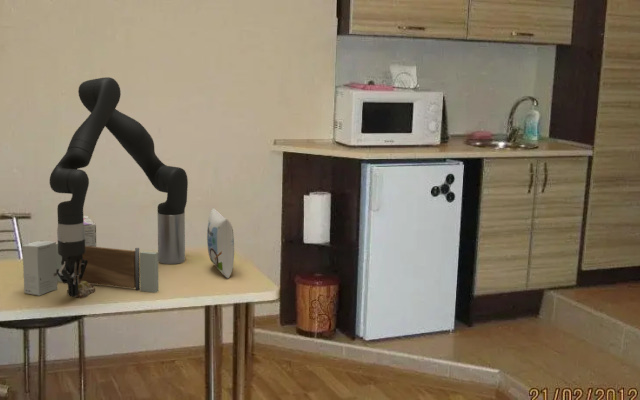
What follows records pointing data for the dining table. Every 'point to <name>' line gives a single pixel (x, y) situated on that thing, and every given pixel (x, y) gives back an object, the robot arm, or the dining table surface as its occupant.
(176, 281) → the dining table surface
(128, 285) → the door
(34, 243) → the skincare box
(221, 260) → the pouch
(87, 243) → the candy box
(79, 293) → the mineral rock
